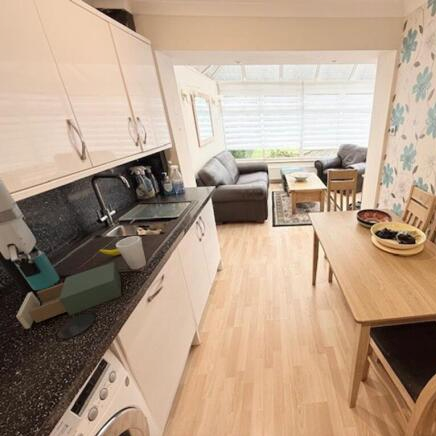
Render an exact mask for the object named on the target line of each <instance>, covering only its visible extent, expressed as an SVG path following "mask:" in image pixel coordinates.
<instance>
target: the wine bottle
mask: <svg viewBox="0 0 436 436" xmlns="http://www.w3.org/2000/svg"><path fill="white" fill-rule="evenodd" d="M24 253H25V252H21V253H19V255H21V254H24ZM0 264H1V265H2V267H3V269H4V270H5V271H6V272H7V273H8V275H9V276H10V278H11V279H12V280H13V282H14V283H15V285H16V286H17V287H18V289H19V290H20V291H21V293H22V294H23V295H24V296H25V297H26V296H27V294H28V293H30V292H33V294H34V295H35V296H36V295H38V294H37V292H38V291H41V290H44V289H47V288H49V287H47V288H44V289H41V290H33V289H32V287H31V286H30V284H29V283H28V282H27V280H26V279H25V277H24V276H23V275H22V273H21V272H20V270H19V269H18V267H17V266H16V265H15V263H14V262H12V260H11V259H5V258H4V256H3V255H2V253H1V252H0Z"/></svg>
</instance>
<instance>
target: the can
mask: <svg viewBox="0 0 436 436" xmlns="http://www.w3.org/2000/svg"><path fill="white" fill-rule="evenodd" d="M29 255H30V257H31V259H32V262H33V261H35V263H36V264H37V266H38V268H39V269H40V271H41V273H39V274H36V275H33V276H30V277H26V276H25V275H24V273H23V272H22V270H21V269H20V268H19V267H18V266H17V264H15V265H16V266H17V267H18V269H19V270H20V272H21V273H22V275H23V276H24V277H25V279H26V280H27V282H28V283H29V284H30V286H31V287H32V289H33V290H41V289H44V288H46V289H47V287H48V288H50V287H52V286H54V285H56V283H57V282H59V281H60V276H59V274H58V272H57V270H56V269H55V268H54V266H53V265H52V262H50V260H49V258H48V257H47V255H46V254H45V252H44V251H42V250H39V251H34V252H30V253H29ZM21 258H25V259H26V256H23V257H21ZM14 263H15V262H14Z"/></svg>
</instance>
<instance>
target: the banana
mask: <svg viewBox="0 0 436 436" xmlns="http://www.w3.org/2000/svg"><path fill="white" fill-rule="evenodd" d="M140 238H141V240H142V239H143V237H141V236H140ZM97 251H99V252H100V253H102V254H105V255H107V256H119V255H121V253H120V252H119V251H118V249H117V248H115V249H97Z"/></svg>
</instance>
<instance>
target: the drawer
mask: <svg viewBox="0 0 436 436" xmlns="http://www.w3.org/2000/svg"><path fill="white" fill-rule="evenodd" d="M63 285H64V282H62V283H60V284H55V285H52V286H49V287H48V288H46V289H44V290H41V291H38V292H37V294H35V295H34V294H33V292H30V293H28V294H27V296H25V298H24V300H23V302H22V304H21V306H20V307H19V310H18V312H17V314H16V316H15V317H16V318H17V320H18V321H19V322H20V324H21V325H22V327H24V329H25V330H27V329H30V328H32V325H33V323H34V322H35V323H36V324H38V323H40V322H43V321H45V320H49V319H51V318H53V317H56V316H58V315H61V314H64V313H67V311H66V310H65V308H64V306H63V305H62V303H61V302H60V300H59V298H60V295H61V292H62V288H63ZM36 295H37V296H38V297H39V299H40V300H41V301H42V304H41V301H39V300H38V298H37V296H36Z"/></svg>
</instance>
